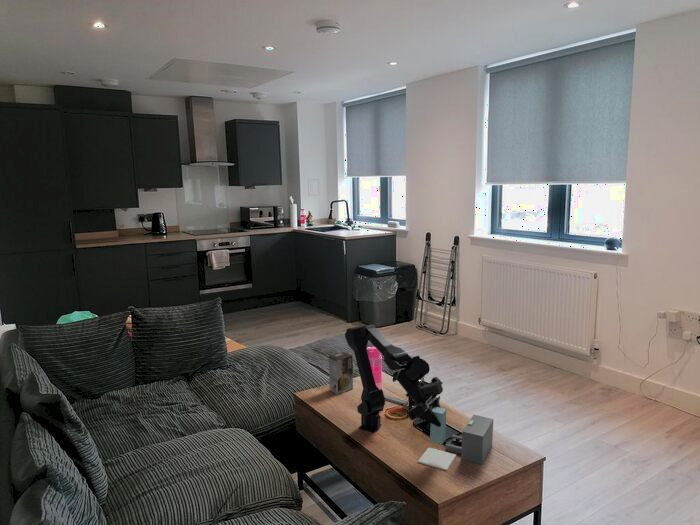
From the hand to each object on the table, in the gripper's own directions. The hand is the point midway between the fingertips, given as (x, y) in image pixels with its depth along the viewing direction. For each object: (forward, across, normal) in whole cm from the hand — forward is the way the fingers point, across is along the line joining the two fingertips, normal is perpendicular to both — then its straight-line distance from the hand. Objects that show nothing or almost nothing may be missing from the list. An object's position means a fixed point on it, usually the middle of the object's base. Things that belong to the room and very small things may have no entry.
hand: (442, 423), depth 164 cm
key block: (+4, 0, +6) cm, 7 cm away
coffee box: (-32, +34, +51) cm, 69 cm away
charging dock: (+13, +11, +5) cm, 18 cm away
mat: (+8, 0, +10) cm, 13 cm away
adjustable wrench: (-14, +34, +34) cm, 50 cm away
